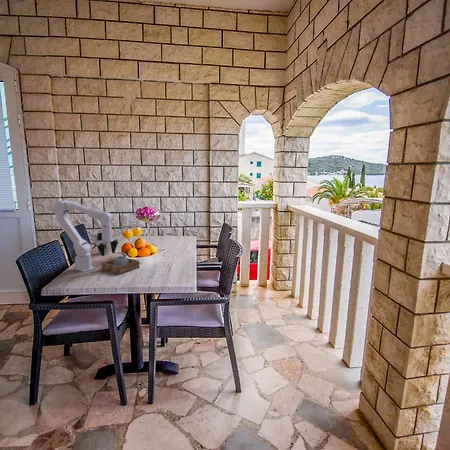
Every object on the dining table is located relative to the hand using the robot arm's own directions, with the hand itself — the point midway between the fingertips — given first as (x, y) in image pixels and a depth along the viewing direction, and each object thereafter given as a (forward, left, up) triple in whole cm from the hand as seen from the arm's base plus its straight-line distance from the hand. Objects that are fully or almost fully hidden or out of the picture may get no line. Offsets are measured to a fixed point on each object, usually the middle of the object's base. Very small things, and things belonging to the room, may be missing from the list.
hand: (108, 254), depth 179 cm
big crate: (+6, +4, -9) cm, 12 cm away
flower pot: (-6, +20, -10) cm, 23 cm away
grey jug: (-31, +22, -10) cm, 39 cm away
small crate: (+6, +4, -8) cm, 11 cm away
